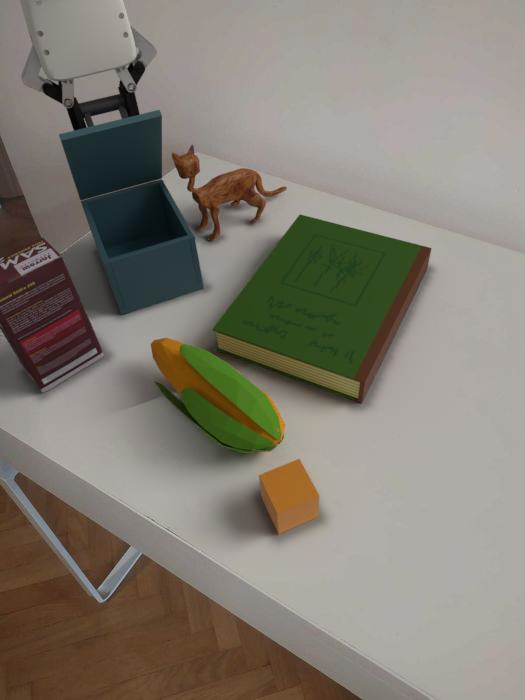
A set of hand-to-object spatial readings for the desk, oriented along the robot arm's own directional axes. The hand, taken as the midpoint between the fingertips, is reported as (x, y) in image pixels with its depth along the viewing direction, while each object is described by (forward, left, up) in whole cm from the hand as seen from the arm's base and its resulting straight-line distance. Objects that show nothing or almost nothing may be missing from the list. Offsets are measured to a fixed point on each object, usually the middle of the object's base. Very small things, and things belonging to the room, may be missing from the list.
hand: (108, 127), depth 68 cm
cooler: (0, -3, -19) cm, 20 cm away
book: (+19, -21, -20) cm, 34 cm away
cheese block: (+3, -44, -19) cm, 48 cm away
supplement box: (-14, -16, -20) cm, 29 cm away
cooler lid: (0, -1, -4) cm, 4 cm away
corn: (0, -30, -20) cm, 36 cm away
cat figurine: (+16, +2, -20) cm, 25 cm away
